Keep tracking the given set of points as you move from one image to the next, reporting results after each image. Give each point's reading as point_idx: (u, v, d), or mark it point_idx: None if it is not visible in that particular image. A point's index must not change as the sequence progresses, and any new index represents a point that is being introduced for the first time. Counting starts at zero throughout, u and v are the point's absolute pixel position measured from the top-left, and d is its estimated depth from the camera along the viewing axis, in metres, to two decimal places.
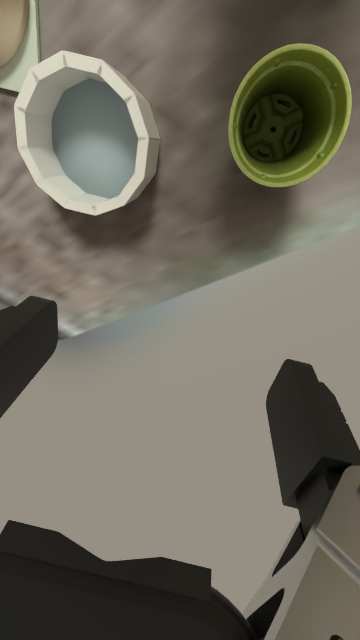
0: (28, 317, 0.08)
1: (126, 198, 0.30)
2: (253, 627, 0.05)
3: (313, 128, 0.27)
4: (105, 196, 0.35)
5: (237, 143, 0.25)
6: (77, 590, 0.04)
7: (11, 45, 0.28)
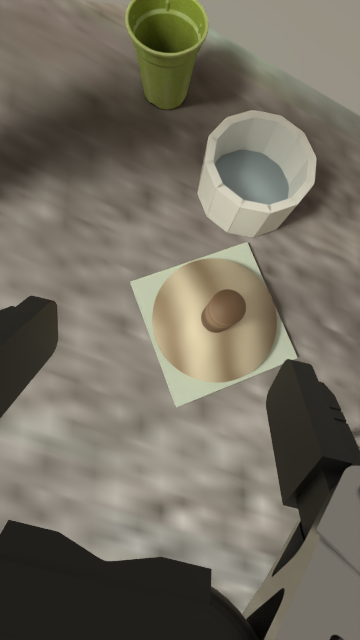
0: (28, 317, 0.08)
1: (275, 116, 0.34)
2: (253, 627, 0.05)
3: (152, 48, 0.38)
4: (280, 169, 0.39)
5: None
6: (77, 590, 0.04)
7: None
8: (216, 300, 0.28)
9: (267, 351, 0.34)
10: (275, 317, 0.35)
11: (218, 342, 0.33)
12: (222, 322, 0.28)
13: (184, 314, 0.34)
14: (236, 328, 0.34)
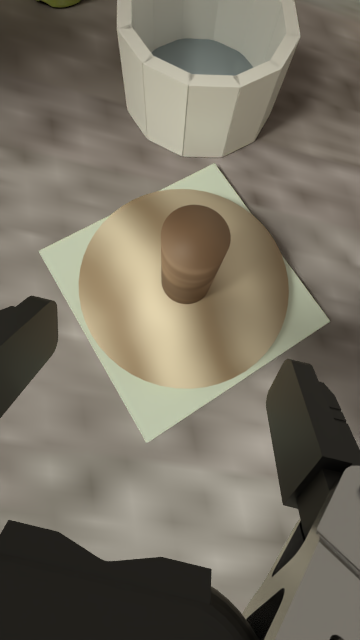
0: (28, 317, 0.08)
1: None
2: (253, 627, 0.05)
3: None
4: (243, 56, 0.26)
5: None
6: (77, 590, 0.04)
7: None
8: (170, 228, 0.14)
9: (281, 318, 0.20)
10: (282, 262, 0.21)
11: (197, 318, 0.20)
12: (190, 266, 0.14)
13: (133, 284, 0.20)
14: (222, 291, 0.20)
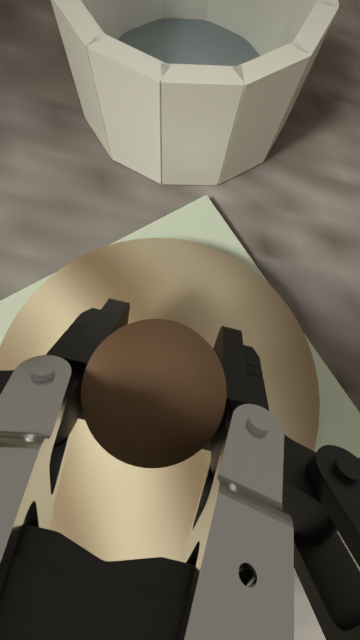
0: (115, 318, 0.09)
1: None
2: None
3: None
4: (247, 43, 0.19)
5: None
6: (77, 590, 0.04)
7: (171, 238, 0.15)
8: (103, 374, 0.07)
9: None
10: (308, 353, 0.14)
11: None
12: (140, 462, 0.07)
13: None
14: None
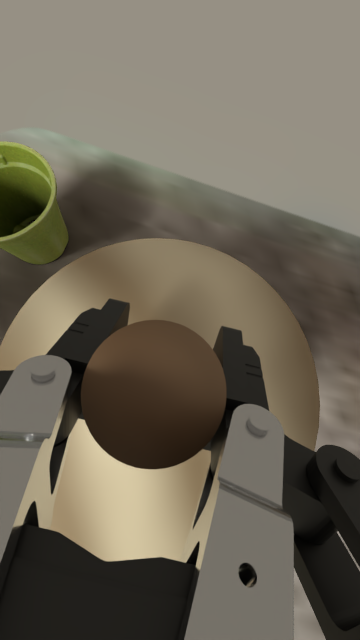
0: (115, 318, 0.09)
1: None
2: None
3: (7, 201, 0.29)
4: None
5: (47, 220, 0.25)
6: (77, 590, 0.04)
7: (171, 239, 0.15)
8: (102, 375, 0.07)
9: None
10: (308, 354, 0.14)
11: None
12: (140, 464, 0.07)
13: None
14: None
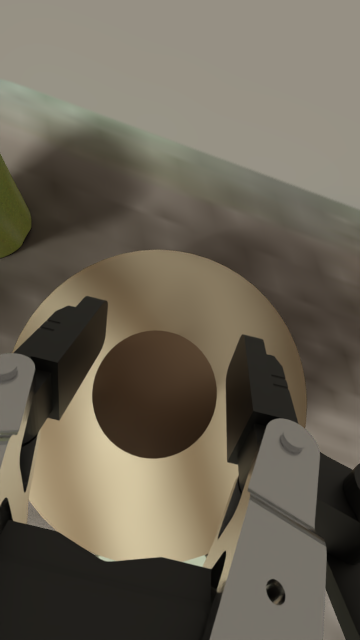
0: (90, 315, 0.09)
1: None
2: None
3: None
4: None
5: None
6: (77, 590, 0.04)
7: None
8: (111, 378, 0.08)
9: None
10: (296, 357, 0.15)
11: None
12: (142, 454, 0.08)
13: (82, 395, 0.14)
14: None
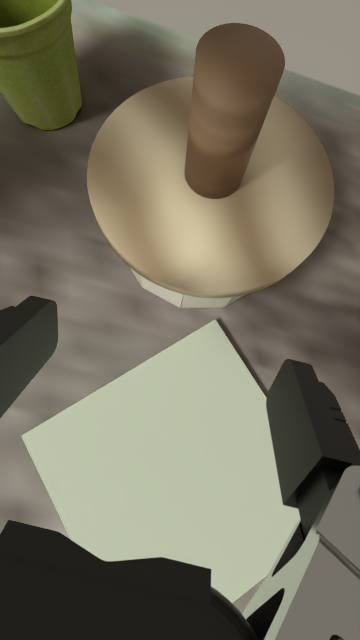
0: (28, 317, 0.08)
1: None
2: (253, 627, 0.05)
3: None
4: None
5: None
6: (77, 590, 0.04)
7: None
8: (208, 47, 0.11)
9: (327, 217, 0.17)
10: (325, 156, 0.18)
11: (228, 215, 0.17)
12: (234, 91, 0.11)
13: (151, 175, 0.17)
14: (256, 185, 0.17)
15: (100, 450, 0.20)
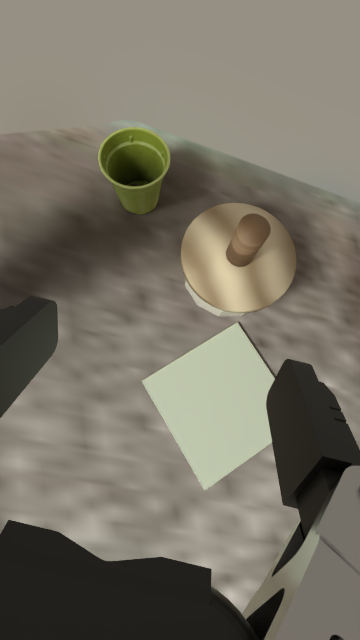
0: (28, 317, 0.08)
1: None
2: (253, 627, 0.05)
3: (123, 168, 0.43)
4: None
5: (161, 178, 0.39)
6: (77, 590, 0.04)
7: (240, 203, 0.38)
8: (242, 224, 0.31)
9: (292, 275, 0.36)
10: (292, 244, 0.37)
11: (246, 274, 0.36)
12: (252, 242, 0.30)
13: (210, 256, 0.36)
14: (259, 260, 0.37)
15: (181, 388, 0.39)
